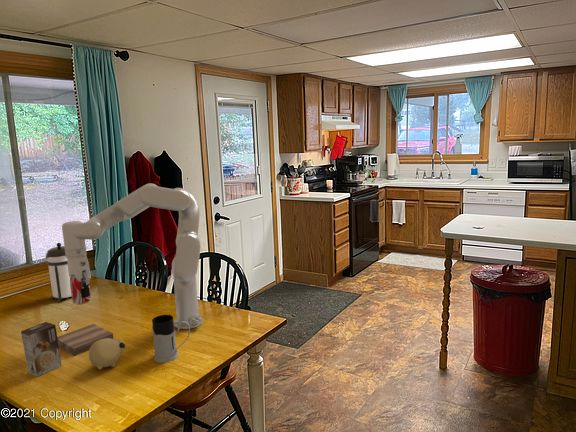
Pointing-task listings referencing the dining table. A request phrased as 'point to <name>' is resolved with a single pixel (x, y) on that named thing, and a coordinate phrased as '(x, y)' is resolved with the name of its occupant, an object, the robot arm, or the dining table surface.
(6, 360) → the dining table surface
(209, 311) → the dining table surface
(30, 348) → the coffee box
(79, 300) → the soda can
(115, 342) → the toy pig
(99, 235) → the robot arm
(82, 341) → the walnut stand
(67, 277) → the coffee press
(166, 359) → the grey black mug
